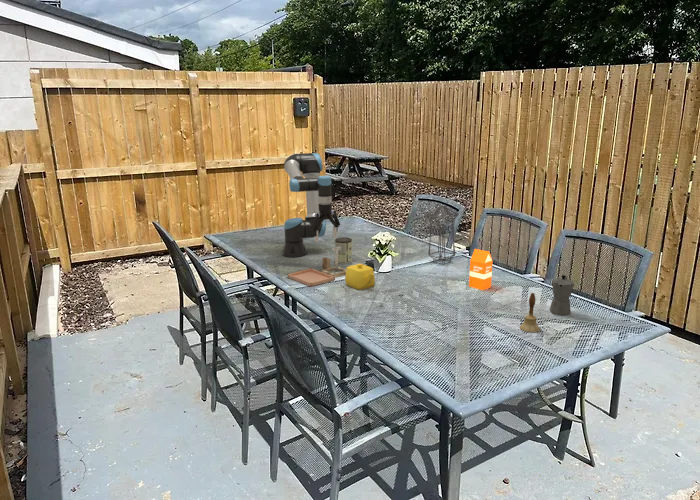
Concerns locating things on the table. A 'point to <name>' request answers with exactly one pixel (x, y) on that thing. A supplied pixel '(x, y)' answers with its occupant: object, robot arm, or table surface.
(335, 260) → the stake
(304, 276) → the tray
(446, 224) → the geometric lantern
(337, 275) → the tan wooden piece
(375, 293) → the table surface
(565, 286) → the coffeepot
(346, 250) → the coffee can
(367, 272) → the teapot
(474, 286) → the orange juice
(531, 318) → the hand bell
